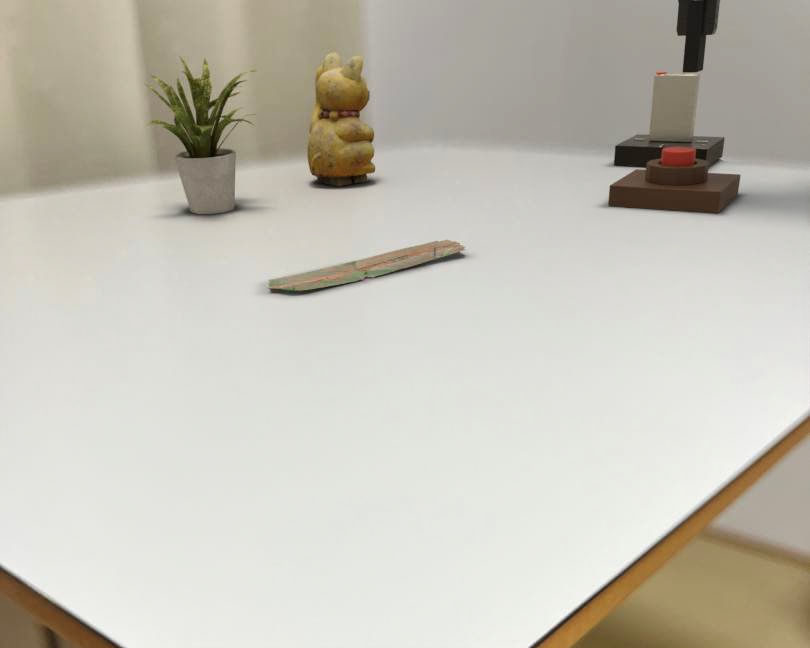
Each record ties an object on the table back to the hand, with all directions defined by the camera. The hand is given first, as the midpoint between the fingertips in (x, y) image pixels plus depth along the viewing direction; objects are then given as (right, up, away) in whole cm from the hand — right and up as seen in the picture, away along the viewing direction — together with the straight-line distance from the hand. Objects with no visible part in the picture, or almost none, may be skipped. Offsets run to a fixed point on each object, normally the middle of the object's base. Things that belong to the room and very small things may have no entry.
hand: (692, 71), depth 99 cm
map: (-33, -25, -13) cm, 44 cm away
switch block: (0, -11, +7) cm, 13 cm away
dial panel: (+5, +2, +28) cm, 28 cm away
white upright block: (+5, +4, +26) cm, 27 cm away
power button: (0, -8, +5) cm, 9 cm away
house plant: (-52, -11, +12) cm, 55 cm away
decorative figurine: (-39, -3, +24) cm, 46 cm away
